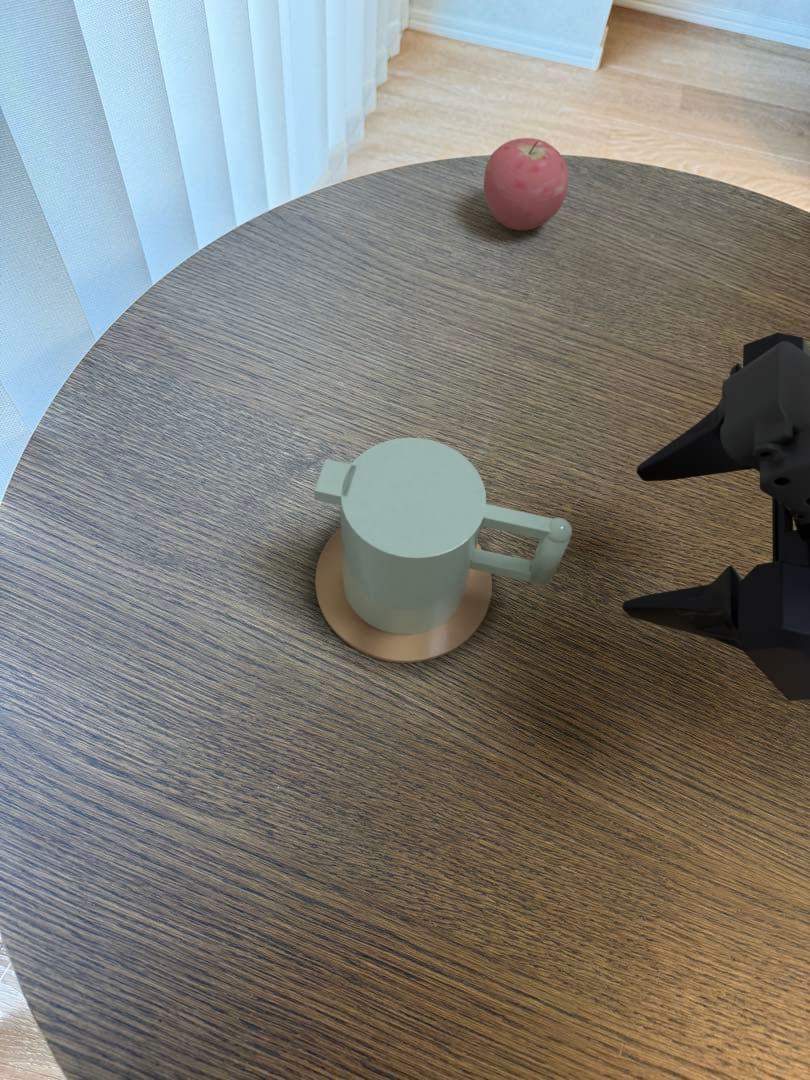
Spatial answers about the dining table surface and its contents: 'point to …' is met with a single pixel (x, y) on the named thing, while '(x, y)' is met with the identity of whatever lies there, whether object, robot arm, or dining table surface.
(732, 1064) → the dining table surface
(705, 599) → the robot arm
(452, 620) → the coaster
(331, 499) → the jug
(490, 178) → the apple
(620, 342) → the dining table surface
